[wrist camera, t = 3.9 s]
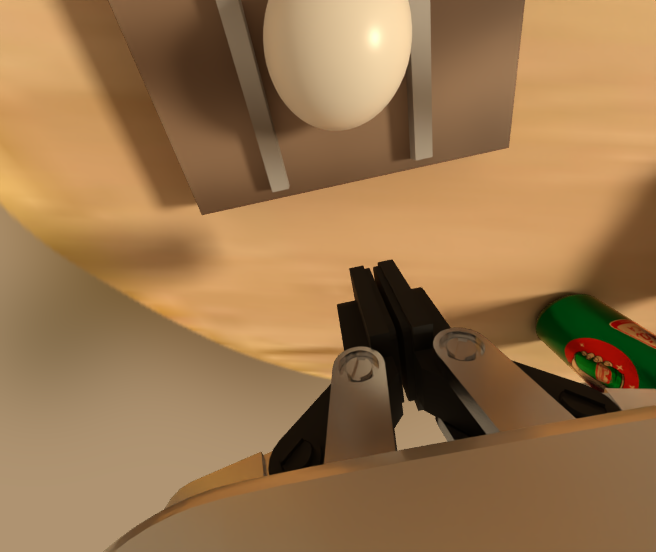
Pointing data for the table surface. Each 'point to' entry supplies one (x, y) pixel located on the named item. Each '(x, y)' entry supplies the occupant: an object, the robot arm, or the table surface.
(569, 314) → the soda can
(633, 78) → the table surface
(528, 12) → the table surface
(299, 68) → the ball
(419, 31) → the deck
